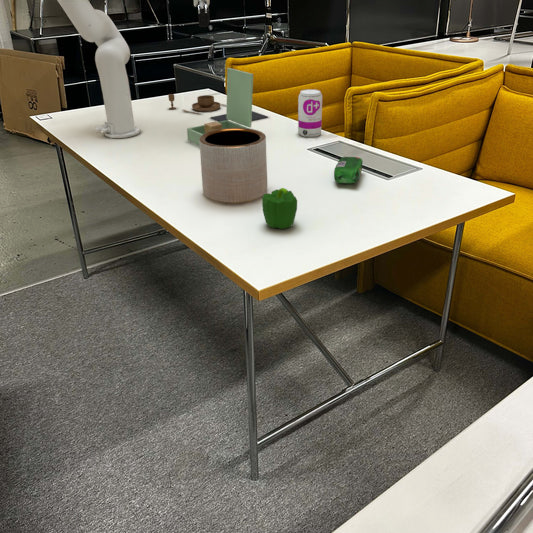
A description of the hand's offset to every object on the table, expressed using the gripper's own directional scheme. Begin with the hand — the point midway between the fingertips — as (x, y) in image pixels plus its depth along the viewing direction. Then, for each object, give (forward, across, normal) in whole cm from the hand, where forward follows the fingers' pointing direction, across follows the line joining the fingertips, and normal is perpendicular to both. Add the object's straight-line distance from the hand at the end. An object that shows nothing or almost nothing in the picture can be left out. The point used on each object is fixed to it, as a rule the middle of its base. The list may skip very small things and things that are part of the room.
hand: (204, 25), depth 187 cm
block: (+36, +14, +1) cm, 38 cm away
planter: (+37, +60, +8) cm, 71 cm away
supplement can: (+37, +7, +35) cm, 51 cm away
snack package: (+37, +53, +41) cm, 76 cm away
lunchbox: (+36, +13, +3) cm, 39 cm away
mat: (+36, -18, +10) cm, 42 cm away
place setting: (+36, -36, -8) cm, 52 cm away
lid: (+22, +8, +10) cm, 26 cm away
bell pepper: (+37, +82, +19) cm, 91 cm away
